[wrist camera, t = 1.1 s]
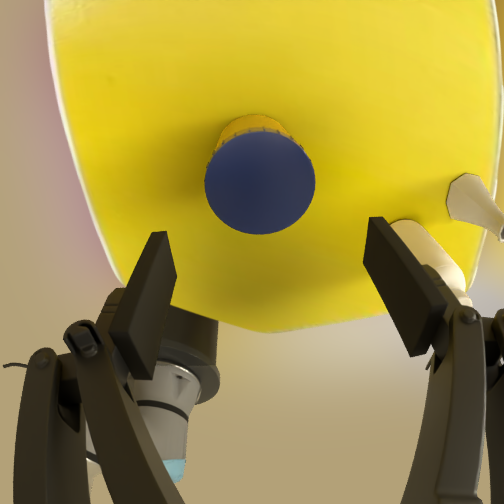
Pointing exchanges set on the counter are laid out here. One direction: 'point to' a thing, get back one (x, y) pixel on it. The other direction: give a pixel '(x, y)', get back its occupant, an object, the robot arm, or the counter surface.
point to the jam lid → (259, 181)
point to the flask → (475, 205)
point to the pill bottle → (432, 256)
